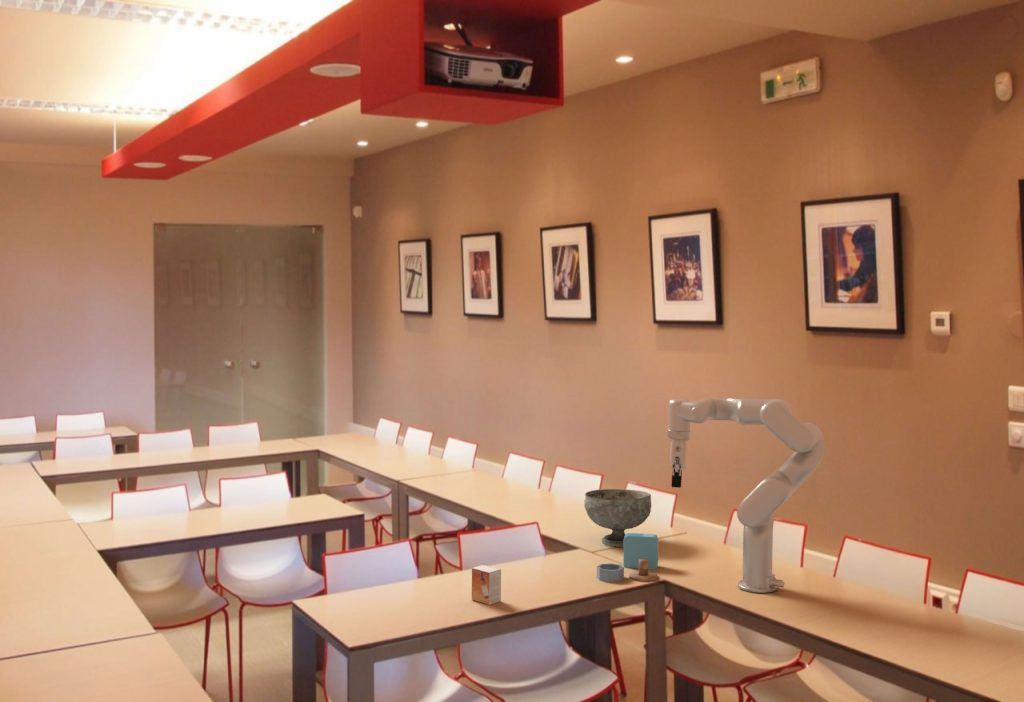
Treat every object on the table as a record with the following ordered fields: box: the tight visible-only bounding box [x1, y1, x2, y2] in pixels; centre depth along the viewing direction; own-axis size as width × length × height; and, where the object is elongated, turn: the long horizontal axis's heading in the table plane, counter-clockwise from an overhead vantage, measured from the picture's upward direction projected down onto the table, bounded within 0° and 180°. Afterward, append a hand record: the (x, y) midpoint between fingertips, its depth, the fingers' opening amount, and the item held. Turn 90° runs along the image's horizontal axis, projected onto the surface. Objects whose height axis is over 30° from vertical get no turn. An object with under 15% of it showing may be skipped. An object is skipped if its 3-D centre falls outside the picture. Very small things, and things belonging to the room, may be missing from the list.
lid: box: [628, 559, 658, 583], centre depth 336 cm, size 10×10×6 cm
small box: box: [471, 564, 502, 606], centre depth 313 cm, size 8×6×10 cm
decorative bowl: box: [583, 488, 652, 548], centre depth 386 cm, size 26×26×20 cm
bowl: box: [596, 562, 625, 583], centre depth 335 cm, size 9×9×4 cm
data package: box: [622, 532, 659, 570], centre depth 350 cm, size 12×4×12 cm, turn 79°
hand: (676, 484), depth 337 cm, fingers open, 9 cm apart
